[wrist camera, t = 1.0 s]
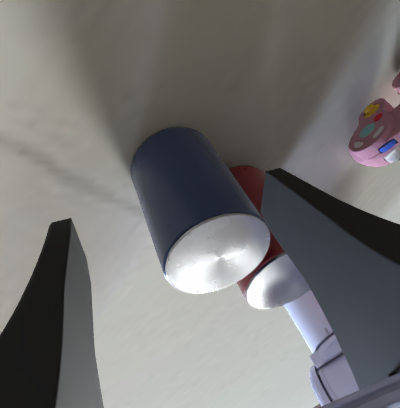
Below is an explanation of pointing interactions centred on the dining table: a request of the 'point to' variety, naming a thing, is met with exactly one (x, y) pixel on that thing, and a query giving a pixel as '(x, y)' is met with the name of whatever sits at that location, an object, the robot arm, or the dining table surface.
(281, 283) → the tin can burgundy
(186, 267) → the tin can navy
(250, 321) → the dining table surface
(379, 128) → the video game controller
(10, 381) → the robot arm
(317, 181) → the dining table surface
